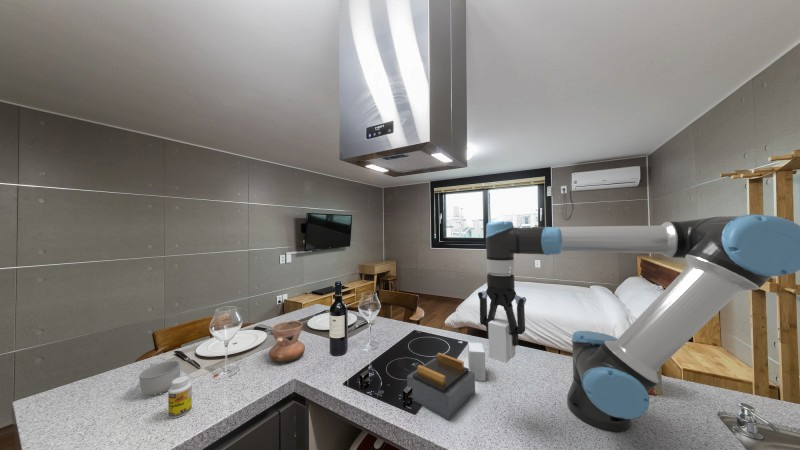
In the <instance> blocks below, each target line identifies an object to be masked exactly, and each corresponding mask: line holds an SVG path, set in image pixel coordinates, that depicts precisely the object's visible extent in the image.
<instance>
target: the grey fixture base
mask: <svg viewBox="0 0 800 450" xmlns="http://www.w3.org/2000/svg"><path fill="white" fill-rule="evenodd" d="M406 382H407V383H406V384H407V386H406V387H411V388H413V391H412V393H413V400H414V402H415V403H416V404H419V405H420V404H421V405H420V406H422V407H424V408H426V409H427V410H429V411H431V412H433V413H435V414H437V416H440V417H442V418H443V419H445V420H447V421H448V422H450V421H452V419H453V418H454V417H455V416H456V415H457V413H459V412H460V411H461V410H462V408H464V407H465V405H467V403H468V402H469V401H470V400H471V399H472V398H473V397H474V396H475V395H476V380H475V373H473V372H471V371H469V367H466V366H465V361H463V360H460V359H458V358H455V357H452V356H449V355H446V354H445V353H441V352H438V353H437V354H436V357H434V358H433V359H431V360H429V361H428V362H427V363H425V364H423V365H421V364H419V365H417V369H415V370H414V371H412V372H411V373H410V374H408V375H407V376H406ZM413 400H412V401H413Z"/></svg>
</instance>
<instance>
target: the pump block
mask: <svg viewBox="0 0 800 450" xmlns="http://www.w3.org/2000/svg"><path fill="white" fill-rule="evenodd" d="M510 333H511V330H510V326H509V322H508V319H507V317H503V316H502V317H501V316H497V317H496V316H495V318H494V319H493V320H492V321H490V322H489V323H488V334H489V339H488V358H490V359H494V360H497V361H498V362H502V363H505V364H508V362H509V361H510V360H511V359H512V358H510V357H509V334H510Z"/></svg>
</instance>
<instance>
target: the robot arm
mask: <svg viewBox="0 0 800 450" xmlns="http://www.w3.org/2000/svg"><path fill="white" fill-rule="evenodd" d="M485 226H486V227H485V232H486V233H485V246H486V247H485V248H486V272H487V274H486V284H487V288H486V290H481V291H479V292H478V293H477V296H478V298H479V323H480V325H482V326H484V327H486V338H487V339H488V340H489V334H488V323H489V322H490V321H492V320H493V319H495V318H496V314H497V309H498V307H499V306H501V307H503V310H504V311H505V315H506V318H507V319H508V322H509V326H510V330H511V333H510V334H509V357H510V358H511V359H513V358H514V356H516V346H518V345H519V335H523V334H524V333H525V332H526V316H525V314H526V313H525V304H526V301H527V298H526V297H525V296H524V297H521V296H519V295H518V294H517V293H516V290H515V275H514V273H515V258H514V256H515V254H517V255H520V254H521V255H522V254H523V255H524V254H525V255H545V256H550V255H551V256H552V255H560V254H561V253H562V252H585V253H586V252H589V253H591V252H593V253H623V254H624V253H627V254H628V253H629V254H630V253H631V254H661V255H663V256H664V257H666V258H677V259H685V260H686V263H687V266H686V267H685V268H684V269H683V270H682V271H681V273H680V274H679V275H677V277H675V278H674V279H673V281H671V283H670V284H669V285H668V286H667V287H666V288H665V289H664V290H663V291H662V292H661V294H659V295H658V296H657V297H656V299H654V301H652V303H650V305H649V306H648V307H647V308H646V309H645V310H644V311H643V312H642V313H641V314H640V315H639V316H638V317H637V319H635V320H634V321H633V323H632V324H631V325H630V326H629V327H628V328H627V329H626V330H625V331H624V332H623V333H622V334H621V335H620V336H618V338H617V337H616V336H613V335H609V334H606V333H602V332H598V331H590V330H589V331H588V330H577V331H574V332H573V333H572V336H571V337H572V338H571V344H572V345H571V346H572V373H573V374H572V375H573V376H572V377H573V379H572V382H571V384H570V387H569V390H568V392H567V396H566V403H567V407H568V409H569V410H570V412H571V413H572V415H573V414H574V415H575V416H576V417H577V418H578V419H579V420H581V421H582V422H584V423H587V424H588V425H590V426H593V427H594V428H598V429H601V430H605V431H609V432H626V431H629V429H630V428H631V427H632V420H633V419H638V418H640V417H642V416H643V415H645V414H646V413H647V411H648V409H649V407H650V395H648V392H649V391H650V390H651V389H652V388H653V387H654V386H655V385H656V384H658V382H659V380H658V376H657V370H658V369H659V368H660V367H661V368H662V366H663V365H664V364H666V362H667V361H669V360H670V359H671V358H672V357H673V356H674V355H675V354H676V353H677V352H678V351H679V350H680V349H681V348H682V347H683V346H684V345H685V344H686V343H687V342H688V341H690V340H691V339H692V338H693V336H695V335H696V333H698V332H699V331H700V330H702V328H703V327H705V326H706V324H707V323H708V322H709V321H711V320H712V319H713V318H714V316H716V315H717V314H718V313H719V312H720V311H721V310H722V309H723V308H725V306H726V305H728V303H729V302H730V301H731V300H733V298H734V297H736V296H737V294H739V293H740V292H742V291H755V290H757V291H758V290H759V289H760V288H761V287H762V286H764V285H765V283H767V282H768V281H769V280H770V279H771V278H772V277H780V276H786V275H790V274H791V275H792V274H794V273H796V272H799V271H800V224H798V223H796V222H794V221H792V220H790V219H787V218H784V217H780V216H776V215H765V214H757V213H753V214H750V213H749V214H744V215H737V216H736V215H735V216H734V215H733V216H732V215H730V216H714V217H706V218H705V217H704V218H699V219H692V220H691V219H690V220H681V221H665V222H662V224H661V225H611V226H610V225H609V226H608V225H605V226H604V225H601V226H599V225H597V226H596V225H595V226H592V225H591V226H532V227H514V226H515V225H514V224H513V222H512V221H511V220H507V221H506V220H504V221H502V220H501V221H500V220H499V221H489V222H487V223H486V225H485ZM488 298H489V300H490V304H489V310H488ZM514 300H515V304H516V316H515V311H514V309H513V308H514V307H513V301H514ZM516 319H517V320H516Z"/></svg>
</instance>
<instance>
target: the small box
mask: <svg viewBox="0 0 800 450" xmlns="http://www.w3.org/2000/svg"><path fill="white" fill-rule="evenodd" d="M467 354H468V355H467V357H468V359H467V360H468V369H469V371H471V372H473V373H475V381H480V382H486V381H487V379H486V378H487V377H486V353H485V348H484V345H483V343H482V342H470V341H469V342H467Z"/></svg>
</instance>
